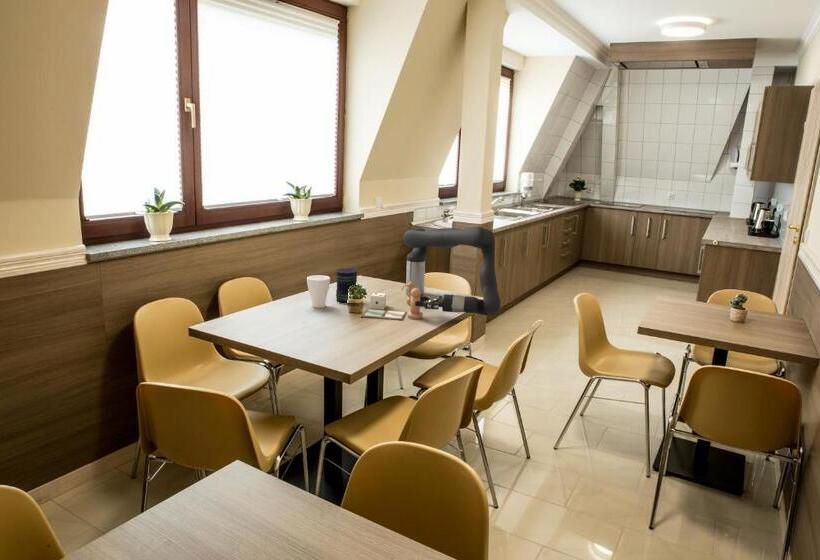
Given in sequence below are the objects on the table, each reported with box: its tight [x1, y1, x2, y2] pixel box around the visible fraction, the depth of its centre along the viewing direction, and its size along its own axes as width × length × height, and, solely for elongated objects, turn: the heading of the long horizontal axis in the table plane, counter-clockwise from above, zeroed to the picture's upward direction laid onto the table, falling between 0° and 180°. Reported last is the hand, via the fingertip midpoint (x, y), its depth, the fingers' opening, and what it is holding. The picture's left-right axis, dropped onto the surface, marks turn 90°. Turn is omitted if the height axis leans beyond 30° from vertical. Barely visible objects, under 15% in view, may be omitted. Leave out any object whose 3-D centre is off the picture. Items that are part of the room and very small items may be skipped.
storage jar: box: [335, 268, 358, 304], centre depth 282 cm, size 10×10×15 cm
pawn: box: [407, 288, 423, 320], centre depth 259 cm, size 6×6×13 cm
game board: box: [360, 308, 408, 321], centre depth 262 cm, size 12×18×1 cm, turn 81°
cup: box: [306, 274, 331, 309], centre depth 272 cm, size 10×10×14 cm
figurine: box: [401, 281, 418, 306], centre depth 278 cm, size 8×6×12 cm
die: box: [369, 292, 387, 310], centre depth 274 cm, size 6×6×6 cm
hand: (416, 301), depth 258 cm, fingers open, 8 cm apart
